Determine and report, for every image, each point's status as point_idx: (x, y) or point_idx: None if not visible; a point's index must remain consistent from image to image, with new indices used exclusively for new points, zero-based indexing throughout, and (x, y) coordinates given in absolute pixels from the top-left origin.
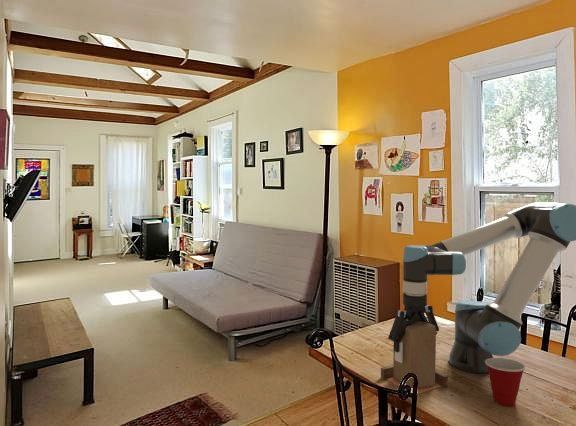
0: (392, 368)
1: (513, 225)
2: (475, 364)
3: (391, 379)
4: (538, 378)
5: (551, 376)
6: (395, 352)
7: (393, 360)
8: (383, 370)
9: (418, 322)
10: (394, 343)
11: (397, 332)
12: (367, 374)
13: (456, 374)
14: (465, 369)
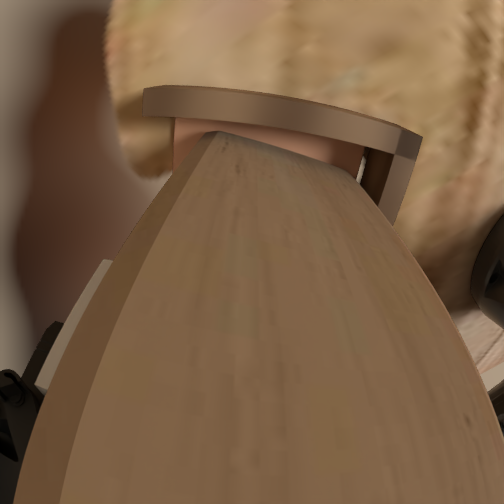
0: (216, 118)
1: None
2: (485, 308)
3: (189, 133)
4: (484, 353)
5: (496, 355)
6: (80, 304)
7: (186, 156)
8: (144, 112)
9: None
10: (28, 378)
11: (14, 480)
12: (137, 24)
13: (443, 265)
14: (475, 274)
